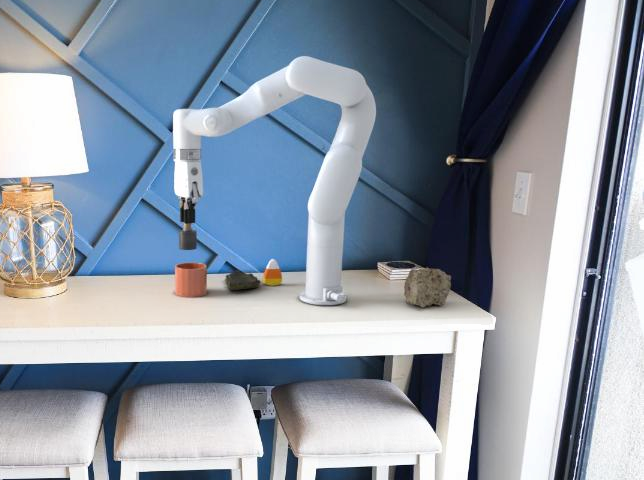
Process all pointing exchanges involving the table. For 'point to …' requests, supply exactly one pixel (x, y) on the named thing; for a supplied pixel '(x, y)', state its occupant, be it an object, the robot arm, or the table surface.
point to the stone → (241, 280)
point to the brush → (187, 237)
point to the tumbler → (190, 279)
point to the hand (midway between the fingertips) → (187, 222)
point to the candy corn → (272, 274)
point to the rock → (427, 287)
